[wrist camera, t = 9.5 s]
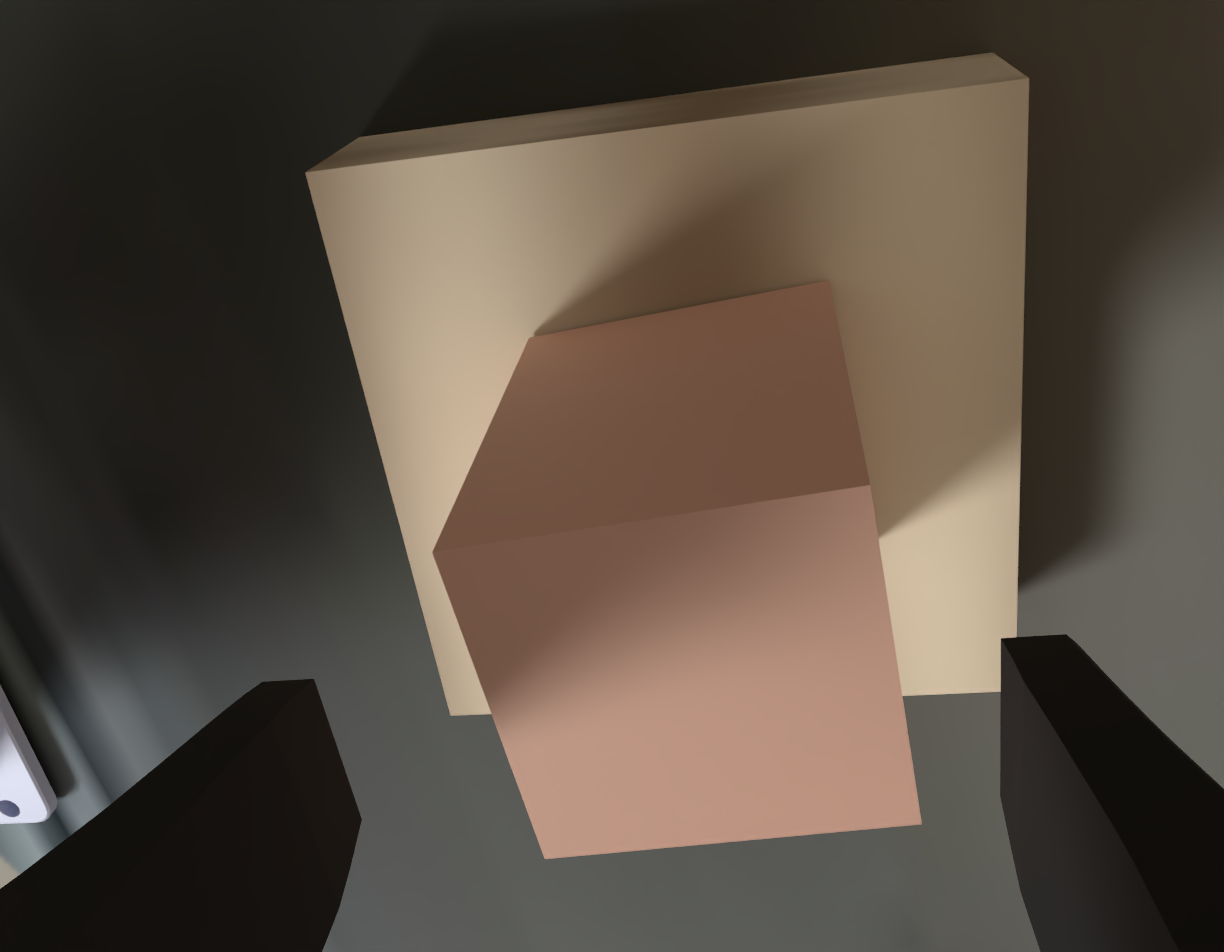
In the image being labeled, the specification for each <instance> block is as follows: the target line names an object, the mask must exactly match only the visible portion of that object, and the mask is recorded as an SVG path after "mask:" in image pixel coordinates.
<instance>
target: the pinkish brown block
mask: <svg viewBox="0 0 1224 952" xmlns="http://www.w3.org/2000/svg"><path fill="white" fill-rule="evenodd" d="M432 553H433V556H434V559H435V562H436V564H437V567H438V570H439V572H440V575H441V578H442V581H443V583H444V586H445V589H446V591H447V594H448V597H449V600H450V602H451V605H452V608H453V611H454V613H455V616H456V619H457V621H458V624H459V627H460V630H461V632H462V635H463V638H464V640H465V643H466V646H467V649H468V651H469V654H470V657H471V659H472V662H473V665H474V668H475V670H476V673H477V676H478V679H479V681H480V684H481V687H482V689H483V692H484V695H485V698H486V700H487V703H488V706H489V708H490V711H491V714H492V717H493V719H494V722H495V725H496V727H497V730H498V733H499V736H500V738H501V741H502V744H503V747H504V749H505V752H506V755H507V757H508V760H509V763H510V766H511V768H512V771H513V774H514V776H515V779H516V782H517V785H518V787H519V790H520V793H521V795H522V798H523V801H524V804H525V806H526V809H527V812H528V814H529V817H530V820H531V823H532V825H533V828H534V831H535V834H536V836H537V839H538V842H539V844H540V847H541V850H542V853H543V855H544V858H545V859H551V858H561V857H572V856H583V855H594V854H605V853H616V852H626V851H637V850H648V849H659V848H670V847H680V846H691V845H702V844H713V843H724V842H735V841H745V840H756V839H767V838H778V837H789V836H799V835H810V834H821V833H832V832H843V831H854V830H864V829H875V828H886V827H897V826H908V825H918V824H922V823H921V816H920V810H919V803H918V796H917V790H916V783H915V777H914V770H913V763H912V757H911V750H910V744H909V737H908V730H907V724H906V717H905V711H904V704H903V697H902V691H901V684H900V677H899V671H898V664H897V658H896V651H895V644H894V638H893V631H892V625H891V618H890V611H889V605H888V598H887V592H886V585H885V578H884V572H883V565H882V559H881V552H880V545H879V539H878V532H877V526H876V519H875V512H874V506H873V499H872V493H871V486H870V481H869V476H868V471H867V466H866V461H865V456H864V451H863V446H862V441H861V436H860V431H859V426H858V421H857V416H856V411H855V406H854V401H853V396H852V392H851V387H850V382H849V377H848V372H847V367H846V362H845V357H844V352H843V347H842V342H841V337H840V332H839V327H838V322H837V317H836V312H835V307H834V302H833V297H832V292H831V287H830V282H829V280H827V281H822V282H817V283H812V284H807V285H801V286H796V287H791V288H786V289H780V290H775V291H770V292H765V293H760V294H754V295H749V296H744V297H739V298H734V299H728V300H723V301H718V302H713V303H707V304H702V305H697V306H692V307H687V308H681V309H676V310H671V311H666V312H660V313H655V314H650V315H645V316H640V317H634V318H629V319H624V320H619V321H613V322H608V323H603V324H598V325H593V326H587V327H582V328H577V329H572V330H566V331H561V332H556V333H551V334H546V335H540V336H535V337H530V338H529V339H528V341H527V343H526V345H525V348H524V350H523V352H522V354H521V357H520V359H519V361H518V363H517V365H516V368H515V370H514V372H513V374H512V376H511V379H510V381H509V383H508V385H507V388H506V390H505V392H504V394H503V396H502V399H501V401H500V403H499V405H498V408H497V410H496V412H495V414H494V416H493V419H492V421H491V423H490V425H489V427H488V430H487V432H486V434H485V436H484V439H483V441H482V443H481V445H480V447H479V450H478V452H477V454H476V456H475V458H474V461H473V463H472V465H471V467H470V470H469V472H468V474H467V476H466V478H465V481H464V483H463V485H462V487H461V489H460V492H459V494H458V496H457V498H456V501H455V503H454V505H453V507H452V509H451V512H450V514H449V516H448V518H447V521H446V523H445V525H444V527H443V529H442V532H441V534H440V536H439V538H438V540H437V543H436V545H435V547H434V549H433V552H432Z"/></svg>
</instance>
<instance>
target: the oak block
mask: <svg viewBox="0 0 1224 952" xmlns="http://www.w3.org/2000/svg"><path fill="white" fill-rule="evenodd" d="M1028 114H1029V78H1028V77H1027V76H1025V75H1024V74H1023V73H1021V72H1020V71H1018V70H1017V69H1016V68H1014V67H1013V66H1011V65H1010V64H1009V63H1007V62H1006V61H1004V60H1003V59H1001V58H1000V57H999V56H997V55H996V54H994V53H993V52H991V53H983V54H976V55H968V56H961V57H954V58H946V59H939V60H931V61H924V62H916V63H909V64H901V65H894V66H886V67H879V68H872V69H864V70H857V71H849V72H842V73H834V74H827V75H819V76H812V77H804V78H797V79H790V80H782V81H775V82H767V83H760V84H752V85H745V86H737V87H730V88H722V89H715V90H708V91H700V92H693V93H685V94H678V95H670V96H663V97H655V98H648V99H640V100H633V101H626V102H618V103H611V104H603V105H596V106H588V107H581V108H573V109H566V110H558V111H551V112H544V113H536V114H529V115H521V116H514V117H506V118H499V119H491V120H484V121H476V122H469V123H462V124H454V125H447V126H439V127H432V128H424V129H417V130H409V131H402V132H394V133H387V134H380V135H372V136H365V137H359V138H357V139H356V140H354V141H353V142H351V143H350V144H348V145H347V146H345V147H343V148H342V149H340V150H339V151H337V152H336V153H334V154H333V155H331V156H330V157H328V158H327V159H325V160H324V161H322V162H320V163H319V164H317V165H316V166H314V167H313V168H311V169H310V170H308V171H307V172H305V174H306V177H307V181H308V185H309V189H310V192H311V196H312V200H313V204H314V207H315V211H316V215H317V218H318V222H319V226H320V230H321V233H322V237H323V241H324V245H325V248H326V252H327V256H328V260H329V263H330V267H331V271H332V274H333V278H334V282H335V286H336V289H337V293H338V297H339V301H340V304H341V308H342V312H343V316H344V319H345V323H346V327H347V330H348V334H349V338H350V342H351V345H352V349H353V353H354V357H355V360H356V364H357V368H358V372H359V375H360V379H361V383H362V387H363V390H364V394H365V398H366V401H367V405H368V409H369V413H370V416H371V420H372V424H373V428H374V431H375V435H376V439H377V443H378V446H379V450H380V454H381V457H382V461H383V465H384V469H385V472H386V476H387V480H388V484H389V487H390V491H391V495H392V499H393V502H394V506H395V510H396V513H397V517H398V521H399V525H400V528H401V532H402V536H403V540H404V543H405V547H406V551H407V555H408V558H409V562H410V566H411V569H412V573H413V577H414V581H415V584H416V588H417V592H418V596H419V599H420V603H421V607H422V611H423V614H424V618H425V622H426V625H427V629H428V633H429V637H430V640H431V644H432V648H433V652H434V655H435V659H436V663H437V667H438V670H439V674H440V678H441V681H442V685H443V689H444V693H445V696H446V700H447V704H448V708H449V711H450V715H451V716H455V715H478V714H491V711H490V708H489V706H488V703H487V700H486V698H485V695H484V692H483V689H482V687H481V684H480V681H479V679H478V676H477V673H476V670H475V668H474V665H473V662H472V659H471V657H470V654H469V651H468V649H467V646H466V643H465V640H464V638H463V635H462V632H461V630H460V627H459V624H458V621H457V619H456V616H455V613H454V611H453V608H452V605H451V602H450V600H449V597H448V594H447V591H446V589H445V586H444V583H443V581H442V578H441V575H440V572H439V570H438V567H437V564H436V562H435V559H434V556H433V553H432V552H433V549H434V547H435V545H436V543H437V540H438V538H439V536H440V534H441V532H442V529H443V527H444V525H445V523H446V521H447V518H448V516H449V514H450V512H451V509H452V507H453V505H454V503H455V501H456V498H457V496H458V494H459V492H460V489H461V487H462V485H463V483H464V481H465V478H466V476H467V474H468V472H469V470H470V467H471V465H472V463H473V461H474V458H475V456H476V454H477V452H478V450H479V447H480V445H481V443H482V441H483V439H484V436H485V434H486V432H487V430H488V427H489V425H490V423H491V421H492V419H493V416H494V414H495V412H496V410H497V408H498V405H499V403H500V401H501V399H502V396H503V394H504V392H505V390H506V388H507V385H508V383H509V381H510V379H511V376H512V374H513V372H514V370H515V368H516V365H517V363H518V361H519V359H520V357H521V354H522V352H523V350H524V348H525V345H526V343H527V341H528V339H529V338H530V337H535V336H540V335H546V334H551V333H556V332H561V331H566V330H572V329H577V328H582V327H587V326H593V325H598V324H603V323H608V322H613V321H619V320H624V319H629V318H634V317H640V316H645V315H650V314H655V313H660V312H666V311H671V310H676V309H681V308H687V307H692V306H697V305H702V304H707V303H713V302H718V301H723V300H728V299H734V298H739V297H744V296H749V295H754V294H760V293H765V292H770V291H775V290H780V289H786V288H791V287H796V286H801V285H807V284H812V283H817V282H822V281H827V280H829V282H830V287H831V292H832V297H833V302H834V307H835V312H836V317H837V322H838V327H839V332H840V337H841V342H842V347H843V352H844V357H845V362H846V367H847V372H848V377H849V382H850V387H851V392H852V396H853V401H854V406H855V411H856V416H857V421H858V426H859V431H860V436H861V441H862V446H863V451H864V456H865V461H866V466H867V471H868V476H869V481H870V486H871V493H872V499H873V506H874V512H875V519H876V526H877V532H878V539H879V545H880V552H881V559H882V565H883V572H884V578H885V585H886V592H887V598H888V605H889V611H890V618H891V625H892V631H893V638H894V644H895V651H896V658H897V664H898V671H899V677H900V684H901V691H902V696H910V695H933V694H956V693H979V692H1001V638H1014V637H1016V634H1017V591H1018V548H1019V504H1020V461H1021V418H1022V374H1023V331H1024V288H1025V244H1026V201H1027V157H1028Z"/></svg>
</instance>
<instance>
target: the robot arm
mask: <svg viewBox="0 0 1224 952" xmlns="http://www.w3.org/2000/svg"><path fill="white" fill-rule="evenodd" d="M1000 796H1001V801H1002V806H1003V811H1004V816H1005V821H1006V826H1007V830H1008V835H1009V840H1010V845H1011V850H1012V854H1013V859H1014V863H1015V868H1016V872H1017V877H1018V881H1019V886H1020V891H1021V894H1022V897H1023V900H1024V903H1025V906H1026V909H1027V912H1028V915H1029V918H1030V921H1031V924H1032V927H1033V930H1034V933H1035V936H1036V939H1037V942H1038V945H1039V948H1040V951H1041V952H1224V789H1223V788H1222V787H1221V786H1220V785H1219V784H1218V783H1217V782H1216V781H1215V780H1213V779H1212V778H1211V777H1210V776H1209V775H1208V774H1207V773H1206V772H1205V771H1204V770H1203V769H1202V768H1201V767H1199V766H1198V765H1197V764H1196V763H1195V762H1194V761H1193V760H1192V759H1191V758H1190V757H1189V756H1188V755H1187V754H1185V753H1184V752H1183V751H1182V750H1181V749H1180V748H1179V747H1178V746H1177V745H1176V744H1175V743H1174V742H1173V741H1172V740H1170V739H1169V738H1168V737H1167V736H1166V735H1165V734H1164V733H1163V732H1162V731H1161V730H1160V729H1159V728H1158V727H1157V726H1156V725H1155V724H1154V723H1153V722H1152V721H1151V720H1150V719H1149V718H1148V717H1147V716H1146V715H1145V714H1144V713H1143V712H1142V711H1141V710H1140V709H1139V708H1138V707H1137V706H1136V705H1135V704H1134V703H1133V702H1132V701H1131V700H1130V699H1129V698H1128V697H1127V696H1126V695H1125V694H1124V693H1123V692H1122V691H1121V690H1120V689H1119V687H1118V686H1117V685H1116V684H1115V683H1114V682H1113V681H1112V680H1111V679H1110V678H1109V677H1108V676H1107V675H1106V674H1105V673H1104V672H1103V671H1102V670H1101V669H1100V668H1099V666H1098V665H1097V664H1096V663H1095V662H1094V661H1093V660H1092V659H1091V658H1090V657H1089V656H1088V655H1087V654H1086V653H1085V651H1084V650H1083V649H1082V648H1081V647H1080V646H1079V645H1078V644H1077V643H1076V642H1075V641H1073V640H1072V639H1071V638H1070V637H1069V636H1067V635H1066V634H1065V635H1048V636H1031V637H1014V638H1001V772H1000ZM57 803H58V802H57V799H56V795H55V793H54V791H53V789H52V787H51V785H50V783H49V781H48V779H47V777H46V775H45V773H44V771H43V769H42V767H41V765H40V763H39V761H38V759H37V757H36V755H35V753H34V751H33V749H32V747H31V745H30V743H29V741H28V739H27V737H26V735H25V733H24V731H23V729H22V727H21V725H20V723H19V721H18V719H17V717H16V715H15V713H14V711H13V709H12V707H11V705H10V703H9V701H8V699H7V697H6V695H5V693H4V691H3V689H2V687H1V685H0V824H8V823H36V822H42V821H45V820H46V819H47V818H49V816H50V815H51V814H52V812H53V811H54V810H55V809H56V806H57ZM361 820H362V819H361V816H360V813H359V810H358V807H357V804H356V801H355V798H354V795H353V792H352V789H351V787H350V784H349V781H348V778H347V775H346V772H345V769H344V766H343V763H342V760H341V757H340V754H339V751H338V748H337V745H336V742H335V740H334V737H333V734H332V731H331V728H330V725H329V722H328V719H327V716H326V713H325V710H324V707H323V704H322V701H321V698H320V696H319V693H318V690H317V687H316V684H315V681H314V679H304V680H287V681H270V682H262V683H260V684H259V685H257V686H256V687H255V688H253V689H252V690H250V691H249V692H248V693H246V694H245V695H244V696H242V697H241V698H240V699H238V700H237V701H236V702H234V703H233V704H232V705H231V706H229V707H228V708H227V709H226V710H224V711H223V712H222V713H221V714H220V715H218V716H217V717H216V718H215V719H213V720H212V721H211V722H210V723H209V724H207V725H206V726H205V727H204V728H202V729H201V730H200V731H199V732H198V733H196V734H195V735H194V736H193V737H192V738H190V739H189V740H188V741H187V742H186V743H184V744H183V745H182V746H181V747H180V748H178V749H177V750H176V751H175V752H174V753H172V754H171V755H170V756H169V757H168V758H166V759H165V760H164V761H163V762H162V763H160V764H159V765H158V766H157V767H156V768H154V769H153V770H152V771H151V772H149V773H148V774H147V775H146V776H145V777H143V778H142V779H141V780H140V781H139V782H137V783H136V784H135V785H134V786H133V787H131V788H130V789H129V790H128V791H126V792H125V793H124V794H123V795H122V796H120V797H119V798H118V799H117V800H116V801H114V802H113V803H112V804H111V805H109V806H108V807H107V808H106V809H105V810H103V811H102V812H101V813H99V814H98V815H97V816H96V817H94V818H93V819H92V820H90V821H89V822H88V823H86V824H85V825H84V826H83V827H81V828H80V829H79V830H77V831H76V832H75V833H73V834H72V835H71V836H70V837H68V838H67V839H66V840H64V841H63V842H62V843H60V844H59V845H58V846H57V847H55V848H54V849H53V850H51V851H50V852H49V853H47V854H46V855H45V856H44V857H42V858H41V859H40V860H38V861H37V862H36V863H34V864H33V865H32V866H31V867H29V868H28V869H27V870H25V871H24V872H23V873H21V874H20V875H19V876H17V877H16V878H15V879H13V880H12V881H11V882H9V883H8V884H7V885H5V886H4V887H2V888H1V889H0V952H322V950H323V948H324V945H325V943H326V940H327V938H328V935H329V933H330V930H331V928H332V925H333V922H334V920H335V917H336V914H337V912H338V909H339V906H340V903H341V899H342V896H343V892H344V888H345V885H346V881H347V877H348V874H349V870H350V866H351V862H352V858H353V854H354V850H355V845H356V841H357V837H358V833H359V829H360V824H361Z"/></svg>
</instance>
